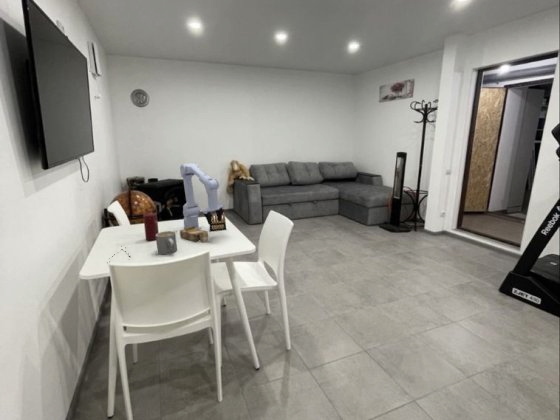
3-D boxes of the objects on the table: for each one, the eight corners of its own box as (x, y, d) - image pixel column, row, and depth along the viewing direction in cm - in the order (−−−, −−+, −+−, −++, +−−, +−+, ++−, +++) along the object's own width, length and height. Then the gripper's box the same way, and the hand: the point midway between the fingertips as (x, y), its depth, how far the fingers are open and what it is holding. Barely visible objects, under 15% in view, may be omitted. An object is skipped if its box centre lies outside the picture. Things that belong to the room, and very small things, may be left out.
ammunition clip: (226, 229, 199) (224, 211, 196) (226, 229, 197) (225, 212, 194) (209, 230, 195) (208, 213, 192) (210, 231, 194) (208, 214, 191)
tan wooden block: (200, 241, 176) (199, 232, 175) (204, 239, 179) (203, 230, 177) (204, 242, 174) (203, 233, 173) (208, 240, 177) (207, 231, 176)
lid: (180, 231, 182) (179, 227, 181) (190, 228, 188) (189, 224, 187) (196, 235, 174) (195, 231, 173) (206, 232, 180) (205, 228, 179)
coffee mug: (156, 250, 164) (154, 233, 162) (174, 246, 169) (172, 229, 167) (161, 258, 153) (158, 240, 151) (180, 254, 158) (178, 236, 156)
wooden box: (180, 238, 183) (179, 232, 182) (190, 234, 189) (189, 228, 188) (196, 242, 175) (195, 235, 174) (205, 238, 181) (205, 232, 180)
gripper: (208, 203, 167) (210, 226, 171) (226, 198, 179) (228, 220, 182) (199, 202, 171) (202, 225, 174) (218, 197, 183) (219, 218, 186)
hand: (214, 222), depth 179 cm, fingers open, 7 cm apart
